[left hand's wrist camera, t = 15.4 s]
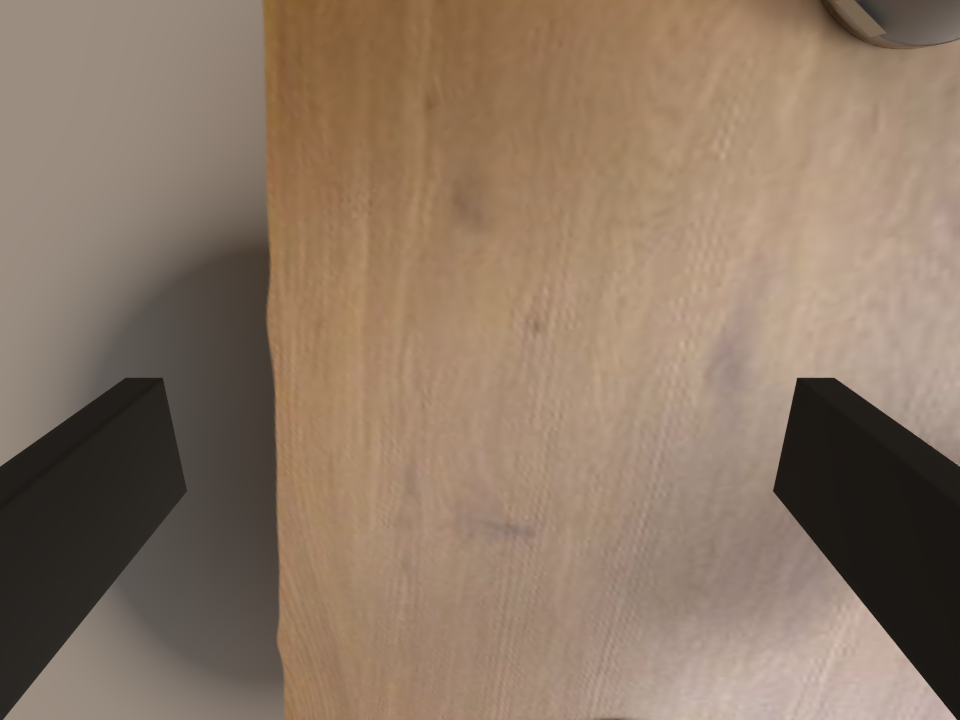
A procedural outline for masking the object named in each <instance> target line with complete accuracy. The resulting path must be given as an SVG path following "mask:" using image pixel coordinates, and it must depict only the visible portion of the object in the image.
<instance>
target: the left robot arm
mask: <svg viewBox="0 0 960 720" xmlns="http://www.w3.org/2000/svg"><path fill="white" fill-rule="evenodd" d="M822 1H823V3H824V5H825V6H826V8H827V9H828V11H829V12H830V14H831V15H832V16H833V17H834V18H835V20H836V21H837V22H838V23H839V24H840V25H841V26H842V27H843V28H845V29H846V30H847V31H849V32H850V33H851V34H853V35H854V36H856V37H858V38H860V39H861V40H863V41H866V42H868V43H871V44H873V45H877V46H881V47H885V48H893V49H913V48H921V47H927V46H933V45H938V44H943V43H948V42H952V41H955V40H958V39H960V0H822ZM186 492H187V490H186V485H185V480H184V475H183V471H182V466H181V461H180V457H179V452H178V447H177V443H176V438H175V433H174V429H173V424H172V419H171V414H170V410H169V405H168V400H167V396H166V391H165V386H164V382H163V378H125V379H123V380H122V381H121V382H119V383H118V384H116V385H115V386H114V387H112V388H111V389H109V390H108V391H106V392H105V393H104V394H102V395H101V396H99V397H98V398H97V399H95V400H94V401H92V402H91V403H90V404H88V405H87V406H85V407H84V408H83V409H81V410H80V411H78V412H77V413H75V414H74V415H73V416H71V417H70V418H68V419H67V420H66V421H64V422H63V423H61V424H60V425H59V426H57V427H56V428H54V429H53V430H51V431H50V432H49V433H47V434H46V435H44V436H43V437H42V438H40V439H39V440H37V441H36V442H34V443H33V444H32V445H30V446H29V447H27V448H26V449H25V450H23V451H22V452H20V453H19V454H18V455H16V456H15V457H13V458H12V459H10V460H9V461H8V462H6V463H5V464H3V465H2V466H1V467H0V720H3V719H4V718H5V716H6V715H7V714H8V713H9V711H10V710H11V709H12V708H13V706H14V705H15V704H16V703H17V702H18V700H19V699H20V698H21V696H22V695H23V694H24V693H25V692H26V690H27V689H28V688H29V687H30V685H31V684H32V683H33V682H34V680H35V679H36V678H37V677H38V675H39V674H40V673H41V672H42V670H43V669H44V668H45V667H46V666H47V664H48V663H49V662H50V661H51V659H52V658H53V657H54V656H55V654H56V653H57V652H58V651H59V649H60V648H61V647H62V646H63V644H64V643H65V642H66V641H67V639H68V638H69V637H70V636H71V634H72V633H73V632H74V631H75V629H76V628H77V627H78V626H79V624H80V623H81V622H82V621H83V620H84V618H85V617H86V616H87V615H88V613H89V612H90V611H91V610H92V608H93V607H94V606H95V605H96V603H97V602H98V601H99V600H100V598H101V597H102V596H103V595H104V593H105V592H106V591H107V590H108V588H109V587H110V586H111V585H112V584H113V582H114V581H115V580H116V579H117V577H118V576H119V575H120V574H121V572H122V571H123V570H124V569H125V567H126V566H127V565H128V564H129V562H130V561H131V560H132V559H133V557H134V556H135V555H136V554H137V552H138V551H139V550H140V549H141V547H142V546H143V545H144V544H145V543H146V541H147V540H148V539H149V537H150V536H151V535H152V534H153V533H154V531H155V530H156V529H157V528H158V526H159V525H160V524H161V523H162V521H163V520H164V519H165V518H166V516H167V515H168V514H169V513H170V511H171V510H172V509H173V508H174V506H175V505H176V504H177V503H178V502H179V500H180V499H181V498H182V497H183V495H184V494H185V493H186ZM773 492H774V493H775V494H776V495H777V497H778V498H779V499H780V500H781V502H782V503H783V504H784V505H785V506H786V508H787V509H788V510H789V511H790V513H791V514H792V515H793V516H794V518H795V519H796V520H797V521H798V523H799V524H800V525H801V526H802V528H803V529H804V530H805V531H806V533H807V534H808V535H809V536H810V538H811V539H812V540H813V541H814V543H815V544H816V545H817V546H818V547H819V549H820V550H821V551H822V552H823V554H824V555H825V556H826V557H827V559H828V560H829V561H830V562H831V564H832V565H833V566H834V567H835V569H836V570H837V571H838V572H839V574H840V575H841V576H842V577H843V579H844V580H845V581H846V582H847V584H848V585H849V586H850V587H851V588H852V590H853V591H854V592H855V593H856V595H857V596H858V597H859V598H860V600H861V601H862V602H863V603H864V605H865V606H866V607H867V608H868V610H869V611H870V612H871V613H872V615H873V616H874V617H875V618H876V620H877V621H878V622H879V623H880V625H881V626H882V627H883V628H884V629H885V631H886V632H887V633H888V634H889V636H890V637H891V638H892V639H893V641H894V642H895V643H896V644H897V646H898V647H899V648H900V649H901V651H902V652H903V653H904V654H905V656H906V657H907V658H908V659H909V661H910V662H911V663H912V664H913V666H914V667H915V668H916V669H917V670H918V672H919V673H920V674H921V675H922V677H923V678H924V679H925V680H926V682H927V683H928V684H929V685H930V687H931V688H932V689H933V690H934V692H935V693H936V694H937V695H938V697H939V698H940V699H941V700H942V702H943V703H944V704H945V705H946V707H947V708H948V709H949V710H950V711H951V713H952V714H953V715H954V716H955V718H956V719H957V720H960V467H959V466H958V465H957V464H955V463H954V462H952V461H951V460H950V459H948V458H947V457H945V456H944V455H942V454H941V453H940V452H938V451H937V450H935V449H934V448H933V447H931V446H930V445H928V444H927V443H926V442H924V441H923V440H921V439H920V438H918V437H917V436H916V435H914V434H913V433H911V432H910V431H909V430H907V429H906V428H904V427H903V426H902V425H900V424H899V423H897V422H896V421H894V420H893V419H892V418H890V417H889V416H887V415H886V414H885V413H883V412H882V411H880V410H879V409H878V408H876V407H875V406H873V405H872V404H870V403H869V402H868V401H866V400H865V399H863V398H862V397H861V396H859V395H858V394H856V393H855V392H854V391H852V390H851V389H849V388H848V387H846V386H845V385H844V384H842V383H841V382H839V381H838V380H837V379H835V378H797V382H796V386H795V391H794V396H793V400H792V405H791V410H790V414H789V419H788V424H787V429H786V433H785V438H784V443H783V447H782V452H781V457H780V461H779V466H778V471H777V475H776V480H775V485H774V490H773Z"/></svg>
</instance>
